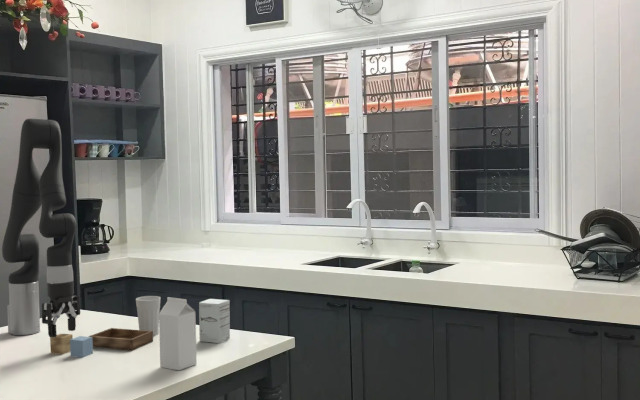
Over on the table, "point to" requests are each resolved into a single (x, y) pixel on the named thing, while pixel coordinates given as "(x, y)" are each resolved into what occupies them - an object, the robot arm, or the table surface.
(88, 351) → the slate block
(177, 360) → the milk carton
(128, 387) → the table surface
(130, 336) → the tray
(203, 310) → the supplement box
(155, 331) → the cup
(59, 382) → the table surface
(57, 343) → the oak block
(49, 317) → the robot arm
